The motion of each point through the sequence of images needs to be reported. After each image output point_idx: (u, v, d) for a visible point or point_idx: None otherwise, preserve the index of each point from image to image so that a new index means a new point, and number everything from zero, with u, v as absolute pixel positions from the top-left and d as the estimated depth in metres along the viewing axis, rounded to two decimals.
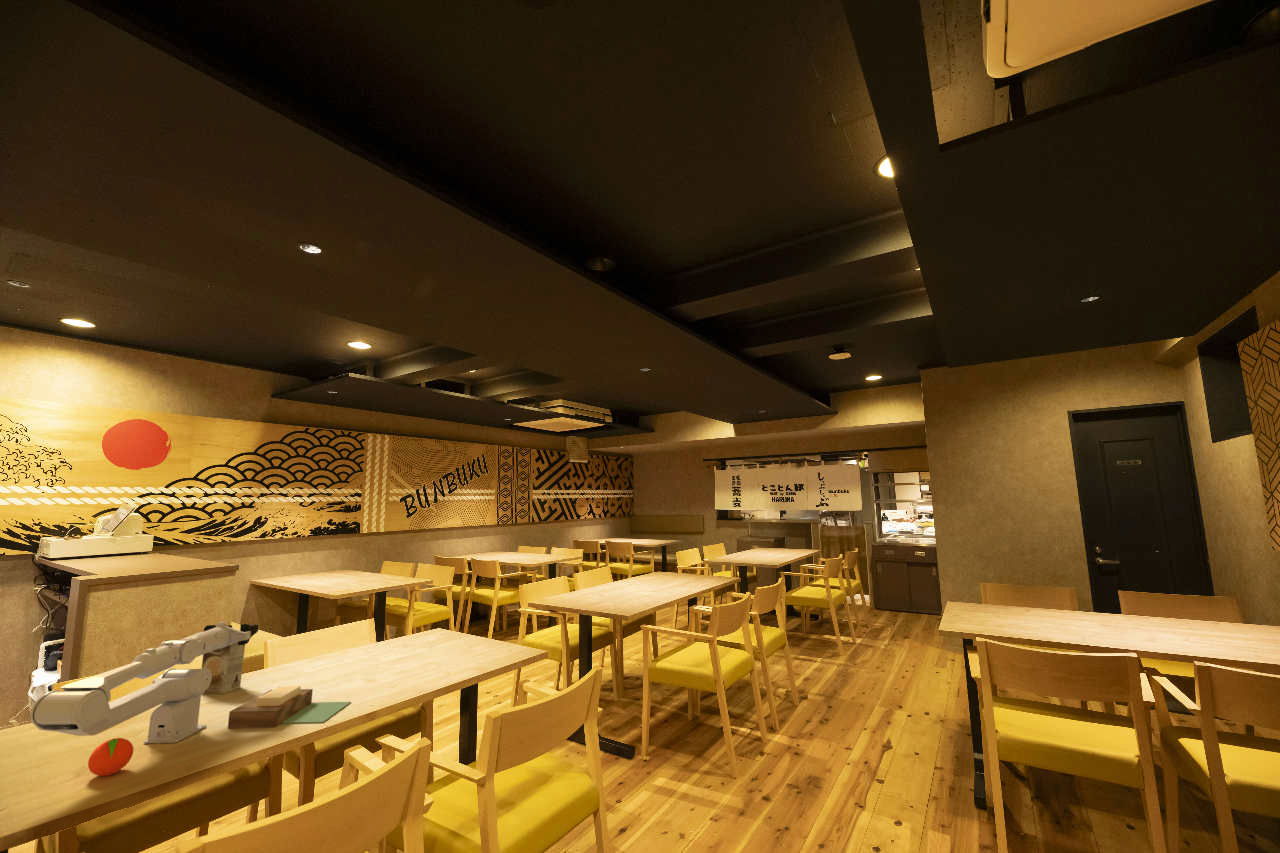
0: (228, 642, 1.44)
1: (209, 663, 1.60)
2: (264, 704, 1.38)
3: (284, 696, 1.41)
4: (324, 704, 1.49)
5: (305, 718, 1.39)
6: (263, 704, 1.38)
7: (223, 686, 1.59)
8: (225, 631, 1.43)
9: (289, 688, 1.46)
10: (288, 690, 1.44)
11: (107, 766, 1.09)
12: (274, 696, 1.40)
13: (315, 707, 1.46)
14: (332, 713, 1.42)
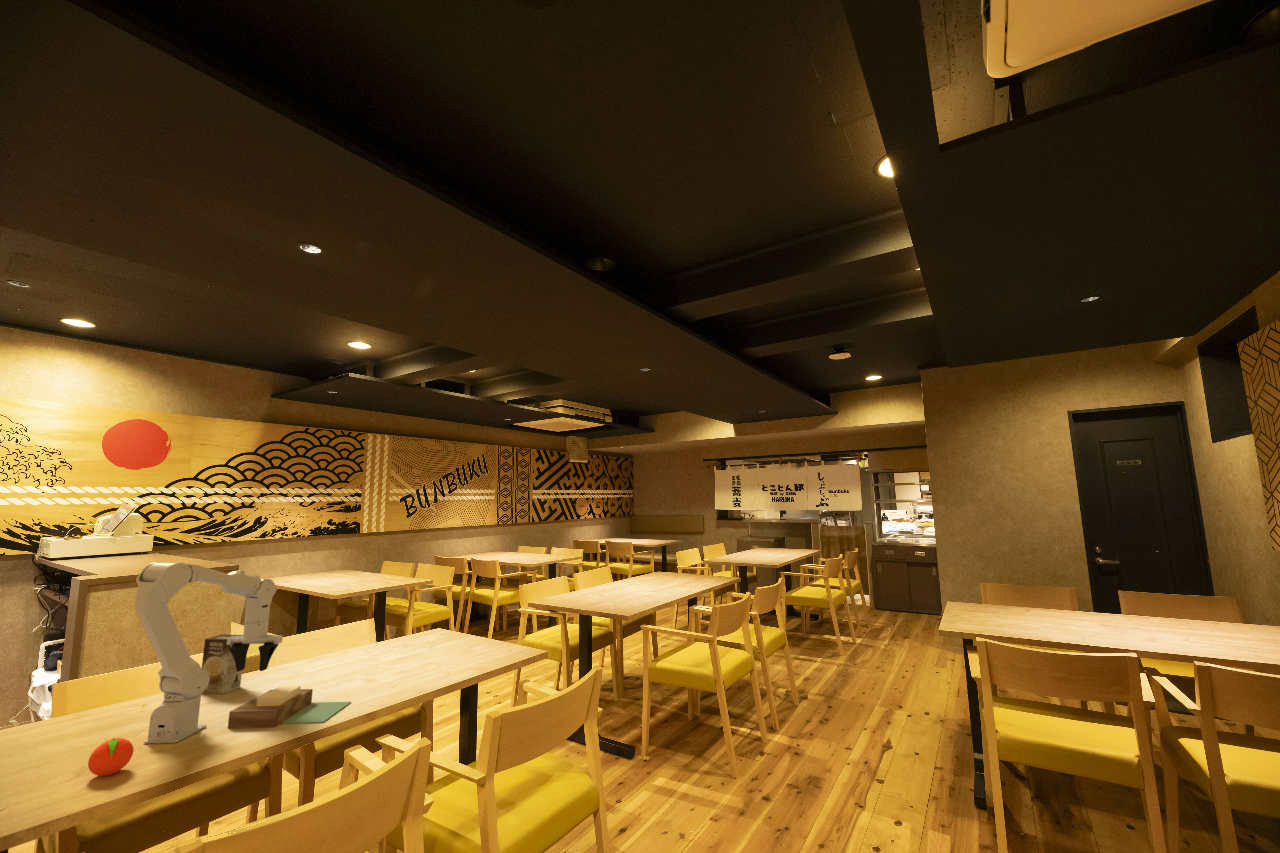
0: (260, 638, 1.48)
1: (209, 663, 1.60)
2: (264, 704, 1.38)
3: (284, 696, 1.41)
4: (324, 704, 1.49)
5: (305, 718, 1.39)
6: (263, 704, 1.38)
7: (223, 686, 1.59)
8: (267, 632, 1.52)
9: (289, 688, 1.46)
10: (288, 690, 1.44)
11: (107, 766, 1.09)
12: (274, 696, 1.40)
13: (315, 707, 1.46)
14: (332, 713, 1.42)
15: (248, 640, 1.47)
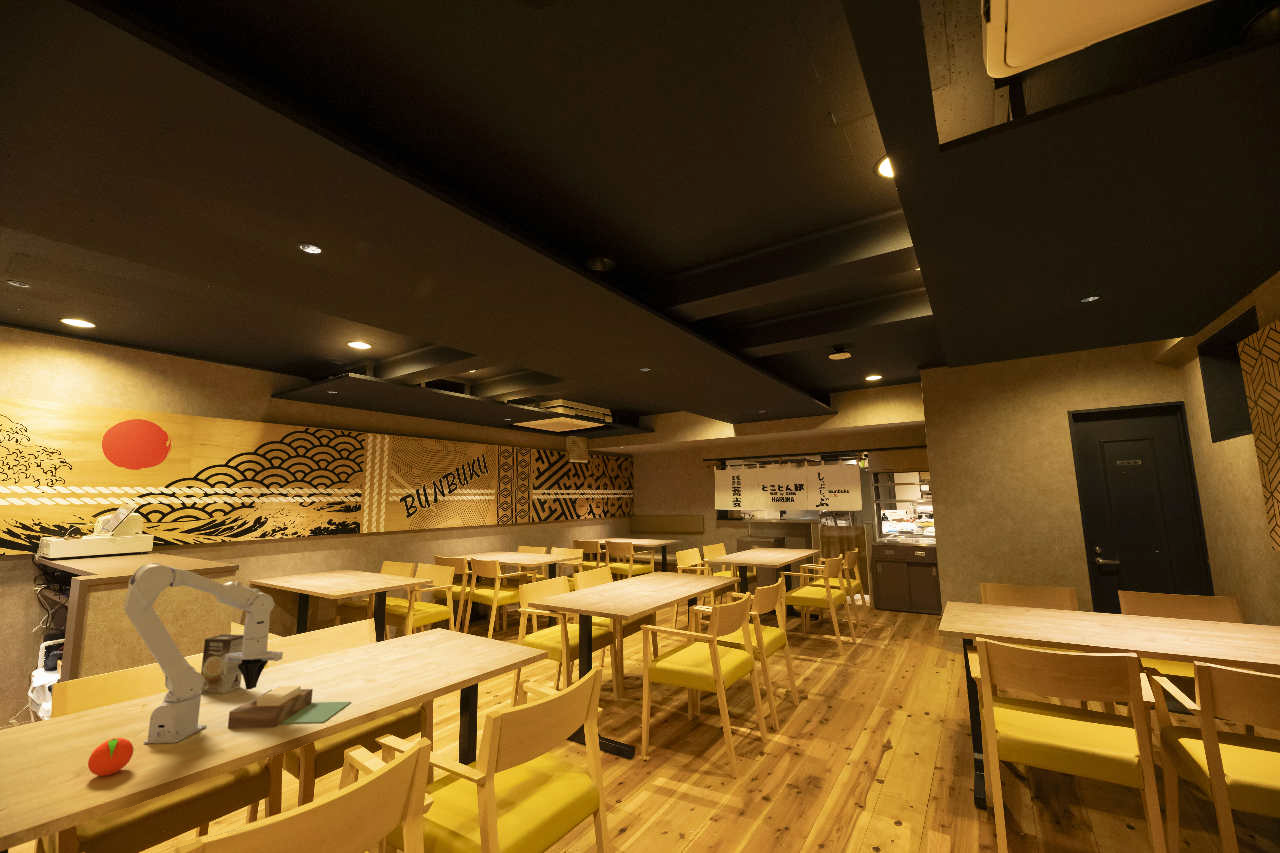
0: (259, 654, 1.43)
1: (209, 663, 1.60)
2: (264, 704, 1.38)
3: (284, 696, 1.41)
4: (324, 704, 1.49)
5: (305, 718, 1.39)
6: (263, 704, 1.38)
7: (223, 686, 1.59)
8: (266, 648, 1.46)
9: (289, 688, 1.46)
10: (288, 690, 1.44)
11: (107, 766, 1.09)
12: (274, 696, 1.40)
13: (315, 707, 1.46)
14: (332, 713, 1.42)
15: (247, 657, 1.41)
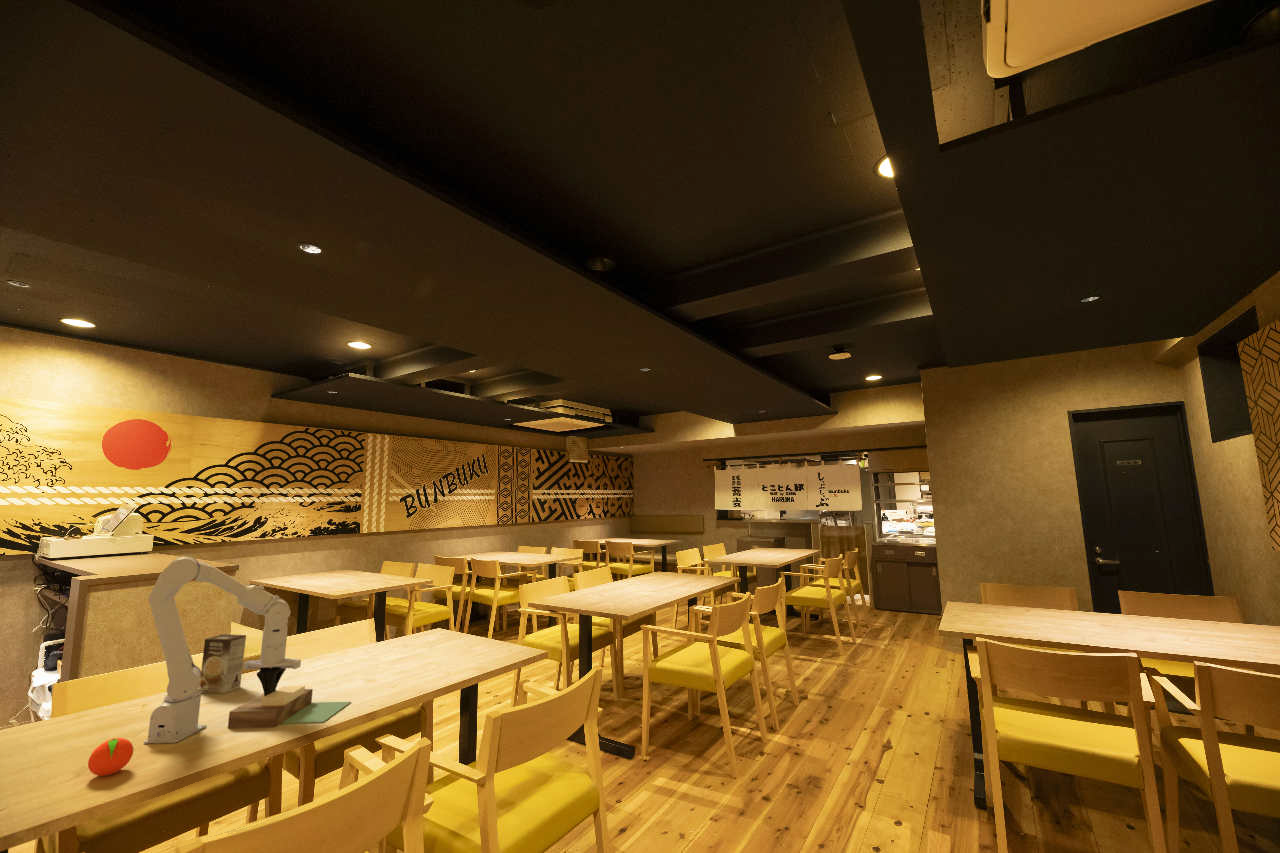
0: (278, 662, 1.43)
1: (209, 663, 1.60)
2: (269, 704, 1.38)
3: (289, 696, 1.41)
4: (324, 704, 1.49)
5: (305, 718, 1.39)
6: (268, 704, 1.38)
7: (223, 686, 1.59)
8: (284, 656, 1.46)
9: (294, 688, 1.46)
10: (292, 690, 1.44)
11: (107, 766, 1.09)
12: (279, 696, 1.40)
13: (315, 707, 1.46)
14: (332, 713, 1.42)
15: (265, 665, 1.41)
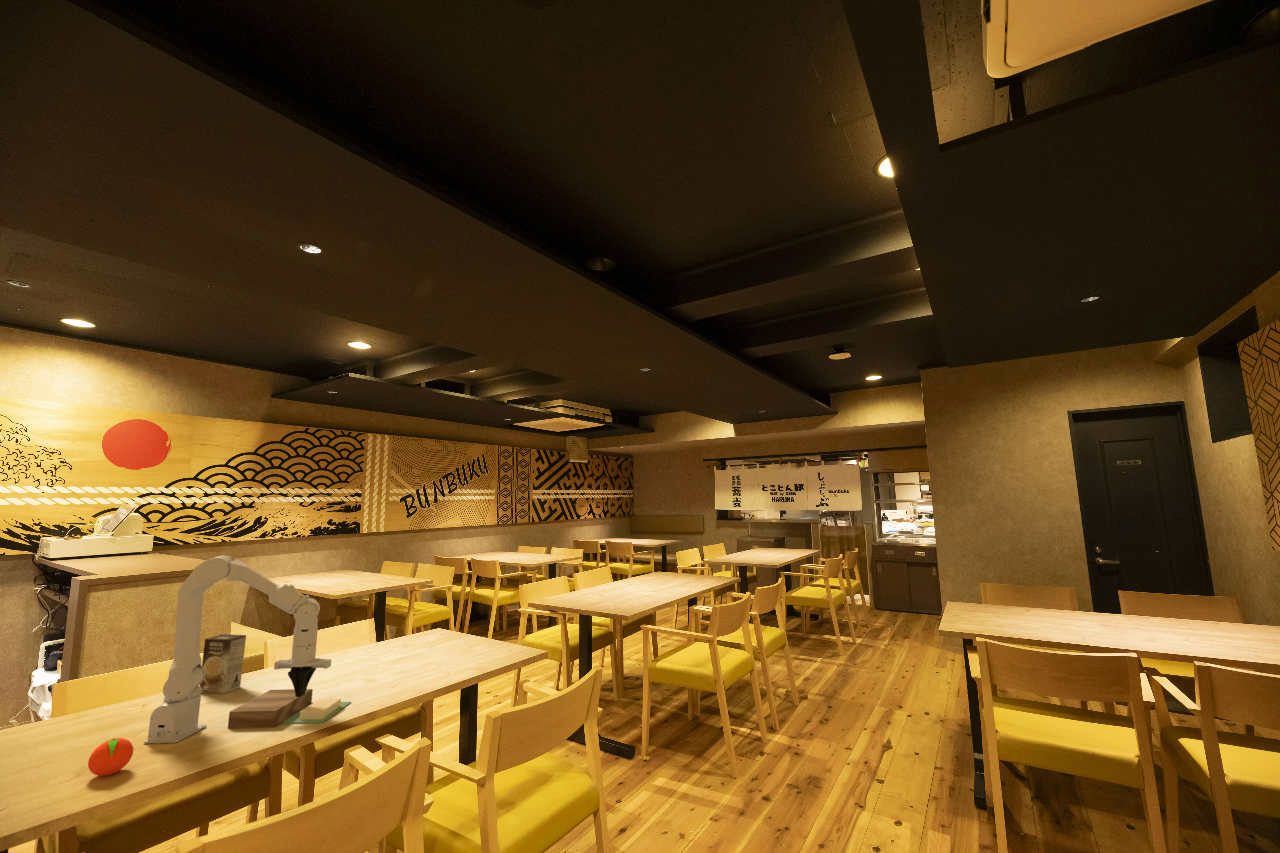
0: (309, 662, 1.43)
1: (209, 663, 1.60)
2: (314, 712, 1.39)
3: None
4: None
5: None
6: (315, 712, 1.39)
7: (223, 686, 1.59)
8: (315, 655, 1.46)
9: None
10: None
11: (107, 766, 1.09)
12: None
13: None
14: (332, 713, 1.42)
15: (297, 665, 1.41)
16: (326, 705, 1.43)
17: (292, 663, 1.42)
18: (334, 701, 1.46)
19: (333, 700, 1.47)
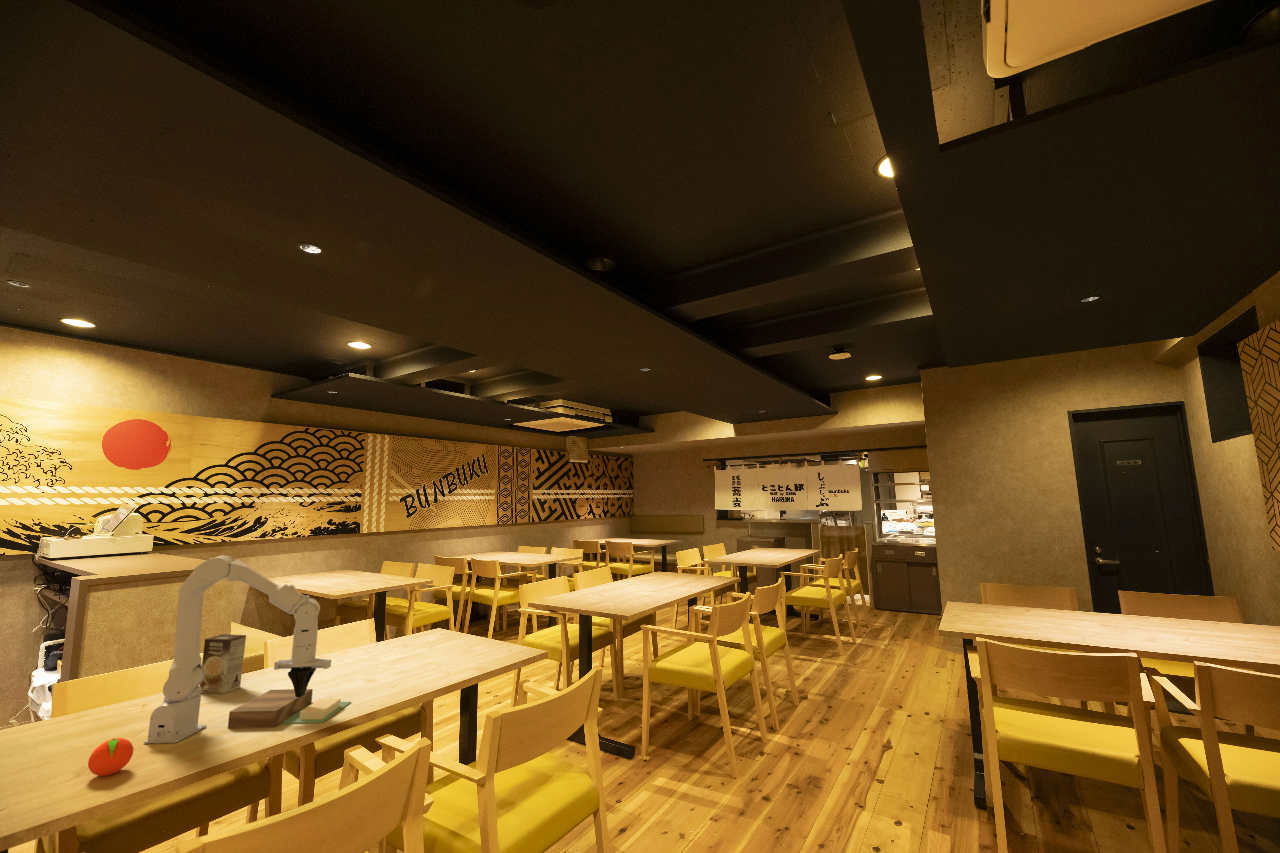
0: (309, 662, 1.43)
1: (209, 663, 1.60)
2: (314, 712, 1.39)
3: None
4: None
5: None
6: (315, 712, 1.39)
7: (223, 686, 1.59)
8: None
9: None
10: None
11: (107, 766, 1.09)
12: None
13: None
14: (332, 713, 1.42)
15: (297, 665, 1.41)
16: (326, 705, 1.43)
17: (292, 663, 1.42)
18: (334, 701, 1.46)
19: (333, 700, 1.47)
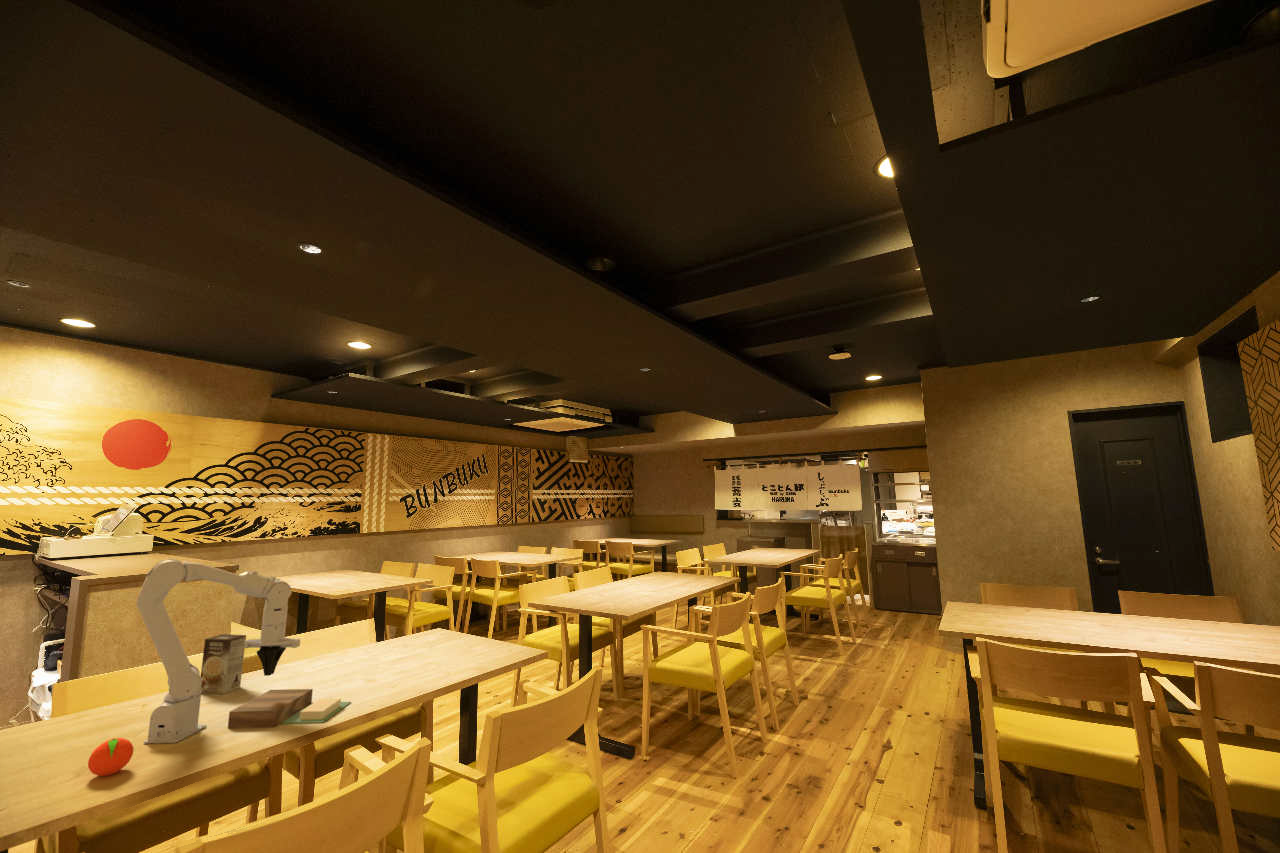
0: (278, 641, 1.45)
1: (209, 663, 1.60)
2: (314, 712, 1.39)
3: None
4: None
5: None
6: (315, 712, 1.39)
7: (223, 686, 1.59)
8: (284, 635, 1.48)
9: None
10: None
11: (107, 766, 1.09)
12: None
13: None
14: (332, 713, 1.42)
15: (265, 644, 1.43)
16: (326, 705, 1.43)
17: (261, 642, 1.44)
18: (334, 701, 1.46)
19: (333, 700, 1.47)
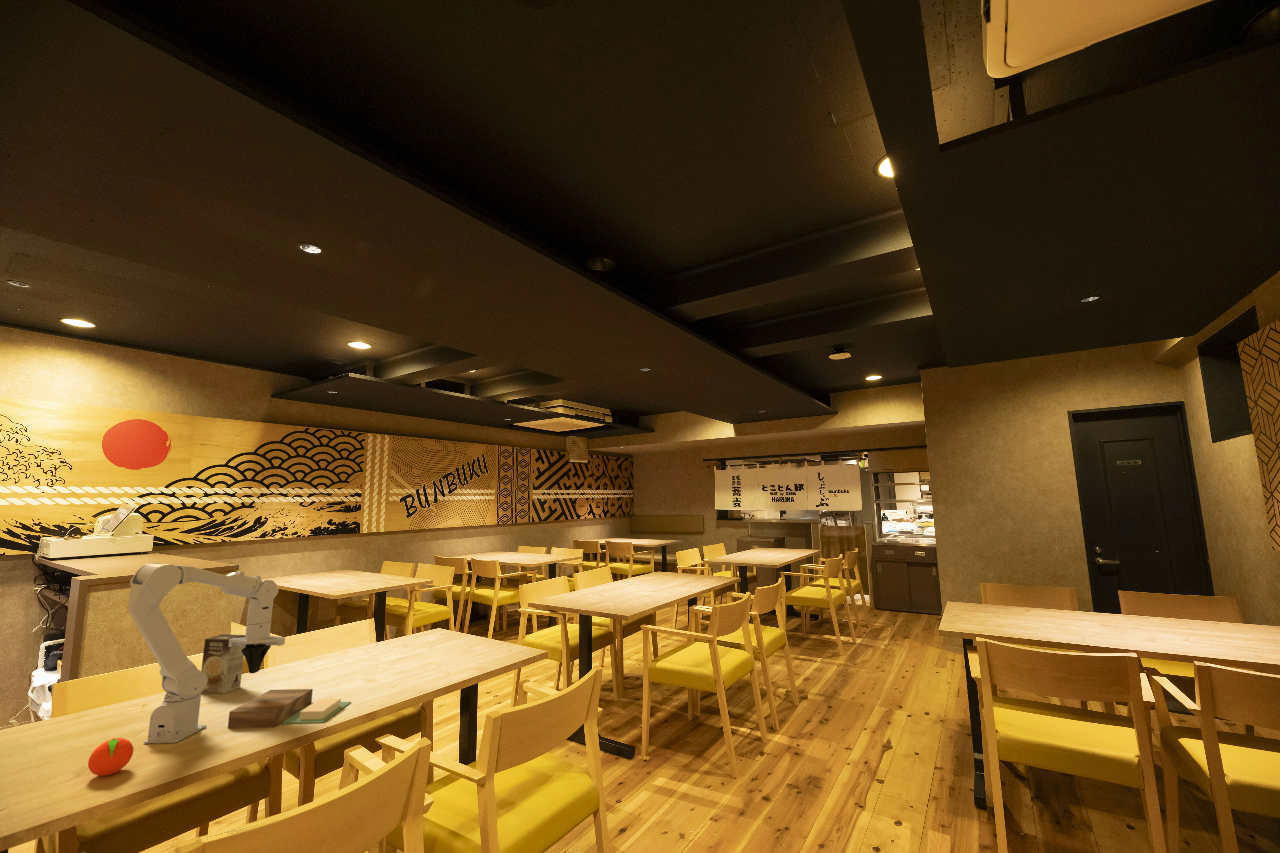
0: (263, 639, 1.46)
1: (209, 663, 1.60)
2: (314, 712, 1.39)
3: None
4: None
5: None
6: (315, 712, 1.39)
7: (223, 686, 1.59)
8: (269, 633, 1.50)
9: None
10: None
11: (107, 766, 1.09)
12: None
13: None
14: (332, 713, 1.42)
15: (250, 642, 1.45)
16: (326, 705, 1.43)
17: (246, 640, 1.45)
18: (334, 701, 1.46)
19: (333, 700, 1.47)
